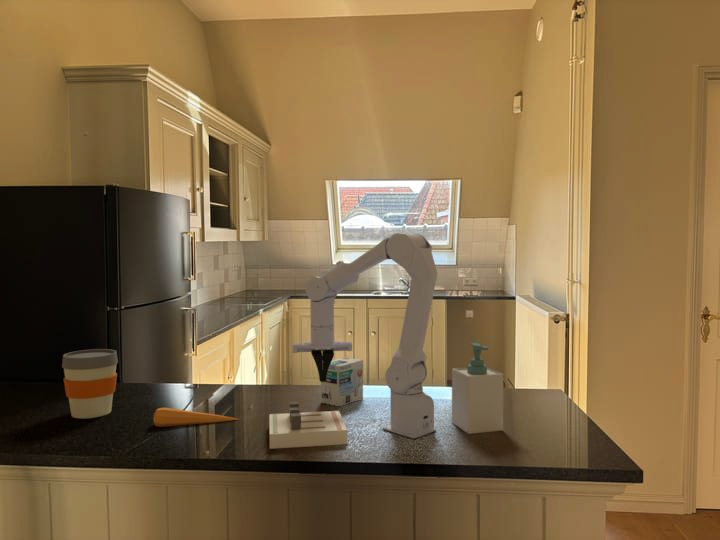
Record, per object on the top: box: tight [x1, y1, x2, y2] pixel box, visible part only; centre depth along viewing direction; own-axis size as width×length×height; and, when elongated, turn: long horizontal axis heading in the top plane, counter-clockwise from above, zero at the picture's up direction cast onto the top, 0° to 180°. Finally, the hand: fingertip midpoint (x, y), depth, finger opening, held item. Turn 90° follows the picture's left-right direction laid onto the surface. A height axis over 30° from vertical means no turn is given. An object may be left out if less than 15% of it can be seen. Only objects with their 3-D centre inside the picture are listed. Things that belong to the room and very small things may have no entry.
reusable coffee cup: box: [61, 348, 119, 419], centre depth 138 cm, size 13×13×15 cm
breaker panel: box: [268, 401, 348, 450], centre depth 121 cm, size 16×14×6 cm
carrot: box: [152, 407, 242, 428], centre depth 131 cm, size 20×4×4 cm, turn 103°
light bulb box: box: [320, 356, 364, 407], centre depth 149 cm, size 11×7×11 cm, turn 143°
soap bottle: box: [451, 342, 504, 435], centre depth 127 cm, size 9×9×19 cm
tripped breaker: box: [289, 406, 300, 422], centre depth 121 cm, size 2×2×3 cm
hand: (322, 380), depth 136 cm, fingers closed
